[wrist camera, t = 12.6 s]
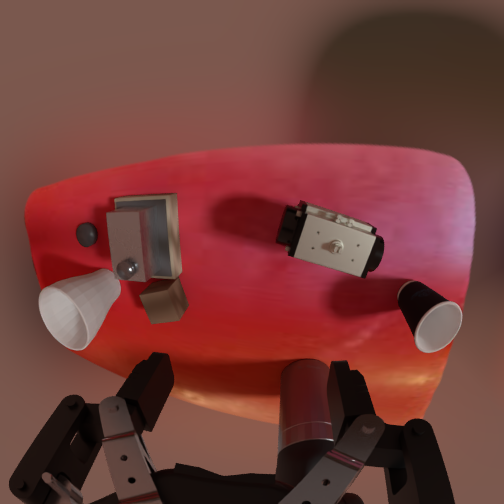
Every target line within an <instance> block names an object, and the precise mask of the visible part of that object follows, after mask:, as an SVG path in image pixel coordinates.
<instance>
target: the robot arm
mask: <svg viewBox="0 0 504 504" xmlns="http://www.w3.org/2000/svg"><path fill="white" fill-rule="evenodd" d="M173 385H174V374H173V370H172V366H171V362H170V358H169V355H168V354H166V353H158V352H153V353H152V354H151V355H150V357H149V359H148V360H143V361H141V362H140V363H139V364H137V365H136V366H135V368H134V369H133V371H132V373H131V374H130V375H129V377H128V378H127V379H126V381H125V382H124V384H123V386H122V387H121V388H120V390H119V391H118V393H117V394H116V396H112V397H107V398H105V399H104V400H102V401H101V403H100V404H90V403H85V401H84V399H83V398H82V397H81V396H79V395H70V396H67V397H65V398H64V399H63V400H62V401H61V403H60V404H59V405H58V407H57V408H56V410H55V411H54V413H53V414H52V415H51V417H50V418H49V420H48V421H47V422H46V424H45V425H44V427H43V428H42V430H41V431H40V432H39V434H38V435H37V437H36V438H35V440H34V442H33V443H32V444H31V446H30V447H29V449H28V450H27V452H26V454H25V455H24V457H23V458H22V460H21V461H20V463H19V465H18V466H17V468H16V470H15V471H14V473H13V475H12V476H11V478H10V480H9V488H10V490H11V492H12V493H13V494H14V495H15V496H16V497H17V498H18V499H20V500H21V501H22V502H24V504H83V496H82V493H81V492H80V490H81V488H82V486H83V484H84V481H85V479H86V477H87V475H88V473H89V471H90V469H91V467H92V465H93V463H94V460H95V458H96V456H97V454H98V452H99V450H100V448H101V446H102V444H103V448H104V452H105V456H106V460H107V463H108V467H109V471H110V474H111V478H112V481H113V484H114V487H115V490H116V492H115V493H112V494H110V495H108V496H106V497H104V498H101V499H99V500H97V501H94V502H92V503H90V504H364V503H363V501H362V499H361V498H360V497H359V496H358V495H356V494H353V493H346V491H347V490H348V489H349V487H350V486H351V484H352V483H353V482H354V480H355V478H357V476H358V475H359V473H360V472H361V470H362V469H363V467H364V466H374V467H384V472H385V479H386V486H387V494H388V502H389V504H455V502H454V497H453V493H452V489H451V485H450V482H449V478H448V475H447V471H446V468H445V465H444V461H443V458H442V455H441V452H440V449H439V446H438V443H437V440H436V437H435V435H434V432H433V429H432V426H431V425H430V424H429V423H428V422H427V421H425V420H423V419H412V420H410V421H408V422H407V423H406V424H405V425H404V426H399V425H390V424H386V423H384V421H383V420H382V419H381V418H380V417H379V416H376V414H375V410H374V407H373V404H372V401H371V398H370V395H369V392H368V388H367V386H366V382H365V379H364V376H363V375H362V374H361V373H360V372H359V371H358V370H350V368H349V365H348V362H347V360H345V361H332V362H331V365H330V369H329V367H328V366H327V365H326V364H324V363H323V362H321V361H318V360H313V359H305V360H300V361H296V362H294V363H292V364H290V365H289V366H287V367H286V368H285V369H284V371H283V372H282V375H281V387H280V413H279V437H278V459H277V468H276V474H254V473H249V474H240V475H231V476H221V475H218V474H216V473H213V472H210V471H208V470H205V469H202V468H200V467H194V466H189V465H184V464H179V463H176V465H175V468H174V469H165V470H160V471H157V470H156V468H155V466H154V465H153V462H152V460H151V457H150V455H149V453H148V450H147V448H146V445H145V442H144V440H143V437H142V435H141V434H142V432H143V430H146V431H149V432H152V430H153V428H154V426H155V423H156V421H157V419H158V417H159V415H160V413H161V411H162V409H163V407H164V404H165V402H166V400H167V398H168V396H169V394H170V392H171V390H172V388H173ZM76 432H77V434H76ZM75 434H76V436H75ZM74 436H75V438H74V440H73V441H72V439H73V437H74ZM71 441H72V443H71ZM70 443H71V445H70Z"/></svg>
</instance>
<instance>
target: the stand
mask: <svg viewBox="0 0 504 504" xmlns="http://www.w3.org/2000/svg"><path fill="white" fill-rule="evenodd" d="M114 200H115V210H116V209H119V208H122V207H126V206H156V213H157V230H158V243H159V255H160V266H161V269H160V270H159V271H157V272H156V273H155V274H154V275H153V276H152V277H151V278H165V279H176V278H177V277H178V276H179V275H180V274H181V272H182V264H181V252H180V240H179V225H178V207H177V193H167V194H148V195H132V196H123V197H119V198H115V199H114Z"/></svg>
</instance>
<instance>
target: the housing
mask: <svg viewBox="0 0 504 504" xmlns="http://www.w3.org/2000/svg"><path fill="white" fill-rule="evenodd" d="M106 216H107V227H108V236H109V245H110V252H111V260H112V267H113V273H114V279H120V280H129V281H139V282H147V281H148V280H149V279H150V278H151V277H152V276H153V275H154V274H155V273H156V272H157V271H159V270H160V269H161V266H160V255H159V243H158V230H157V213H156V206H126V207H122V208H119V209H116V210H113V211H110V212H107V213H106Z"/></svg>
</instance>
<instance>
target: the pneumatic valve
mask: <svg viewBox="0 0 504 504" xmlns="http://www.w3.org/2000/svg"><path fill="white" fill-rule="evenodd" d="M376 230H377V228H375V227H374V226H372V225H371V224H369V223H367V222H364V221H361V220H358V219H356V218H353V217H350V216H347V215H344V214H341V213H338V212H335V211H332V210H329V209H326V208H323V207H320V206H317V205H314V204H311V203H308V202H305V201H301V200H300V203H299V204H298V206H295V207H292V206H289V205H286V207H285V210H284V212H283V215H282V219H281V222H280V225H279V229H278V232H277V237H276V243H277V244H281V245H284V246H286V248H285V251H288V256H291V257H294V258H298V259H301V260H304V261H308V262H311V263H315V264H318V265H321V266H325V267H328V268H331V269H335V270H338V271H341V272H345V273H348V274H351V275H355V276H358V277H361V278H366V275H367V273H368V271H369V272H372V271H374V270H375V269H376V268H377V267H378V265H379V264H380V262H381V259H382V256H383V252H384V240H383V238H382V237H381V236H379V235H376V234H375V233H376Z"/></svg>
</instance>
